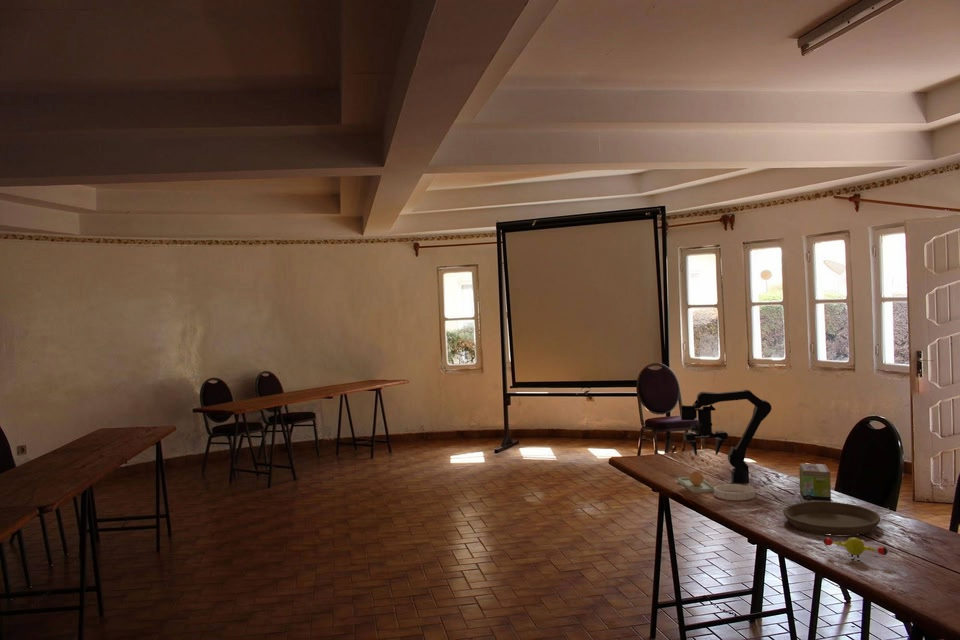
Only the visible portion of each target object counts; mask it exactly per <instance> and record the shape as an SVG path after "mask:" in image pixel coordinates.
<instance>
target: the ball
mask: <svg viewBox="0 0 960 640" xmlns="http://www.w3.org/2000/svg"><path fill="white" fill-rule="evenodd" d="M688 477H689V479H690V482H691V483H692V484H693V485H696V486H698V485H701V484H702V483H703V481H704V480H705V479H704V476H703V473H701V472H699V471H693V472H691V473H690V474H689V476H688Z"/></svg>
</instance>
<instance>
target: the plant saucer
mask: <svg viewBox="0 0 960 640" xmlns="http://www.w3.org/2000/svg"><path fill="white" fill-rule="evenodd" d="M782 513H783V516H784V517H785V519H786V520H787V521H788V522H789V523H790V524H791V525H792V526H793V527H794V528H796V529H798V528H799V530H801V531H803V530H804V532H807V531H808V532H807V533H810V532H812V534H815V533H817V534H816V535H821V534H831V535H857V534H863V533H867V532H869V533H871V532H872V531H874V529H875V528H876V527H877V526H878V525H879V524H880V522H881V516H880V515H879V513H877V512H876V511H874V510H872V509H869V508H866V507H863V506H859V505H857V504H856V505H855V504H850V503H845V502H833V501H831V502H804V503H802V502H798V503H794V504H790V505H788V506H786V507H784V509H783V511H782ZM870 531H871V532H870ZM867 534H868V533H867ZM863 535H864V534H863Z"/></svg>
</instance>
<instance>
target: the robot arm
mask: <svg viewBox="0 0 960 640" xmlns="http://www.w3.org/2000/svg"><path fill="white" fill-rule="evenodd" d="M742 400H747V401H749V402H750V403H751V404H752V405H754V407H753V410H752V415H751V418H750V420H749V422H748V424H747V426H746V427H745V430H744V432H743V434H742V435H741V438H740V439H739V440H738V443H737V444H736V445H735V446H734V447H733V446H730V449H729V451H728V452H726V453H727V461H728V462H729V464H730V465H731V466H732V467H733V468H731V472H730V474H731V476H730V477H731V481H730V482H732V484H747V483H750V472H749V471H750V470H749V468H750V466H749V465H748V463H746V462H745V459H746V453H747V449H748V447H749V446H750V443H751V441H752V440H753V437H754V436H755V434H756V432H757V431H758V428H759V426H760V425H761V423H762V421H764V420H765V419H766V418H767V417H768V415H769V414H770V412H771V411H772V409H773V408H772V405H771V403H770V402H769V401H767V400H765V399H761V398H759V397H758V396H757V395H755V394H754V393H753V392H752V391H751V390H749V389H744V390H736V391H735V390H733V391H725V392H713V391H711V392H710V391H700V392H699V393H697V396H696V400H695V401H694V403H693V404H692V405H683V404H681V406H680V420H681V422H682V421H695V419H697V423H696V424H695V423H692V424H690V431H691V432H684V433H683V434H682V439H683V440H684V441H686V442H688V443H689V444H690V446H691V448H692V450H693V454H694V456H695V457H696V456H698V450H697V449H698V447H697V441H696V439H712V438H713V439H714V442H715V446H714V449H715V450H714V453H715V455H716V456H717V455H718V454H719V451H720V449H721V447H722V445H723V443H724V442H726V440H728V439H729V433H727V432H726V431H724V430H719V431H715V432H714V433H713V427H712V426H713V421H712V411H716V408H715V406H713V405H714V404H717V403H720V402H730V401H742Z"/></svg>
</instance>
